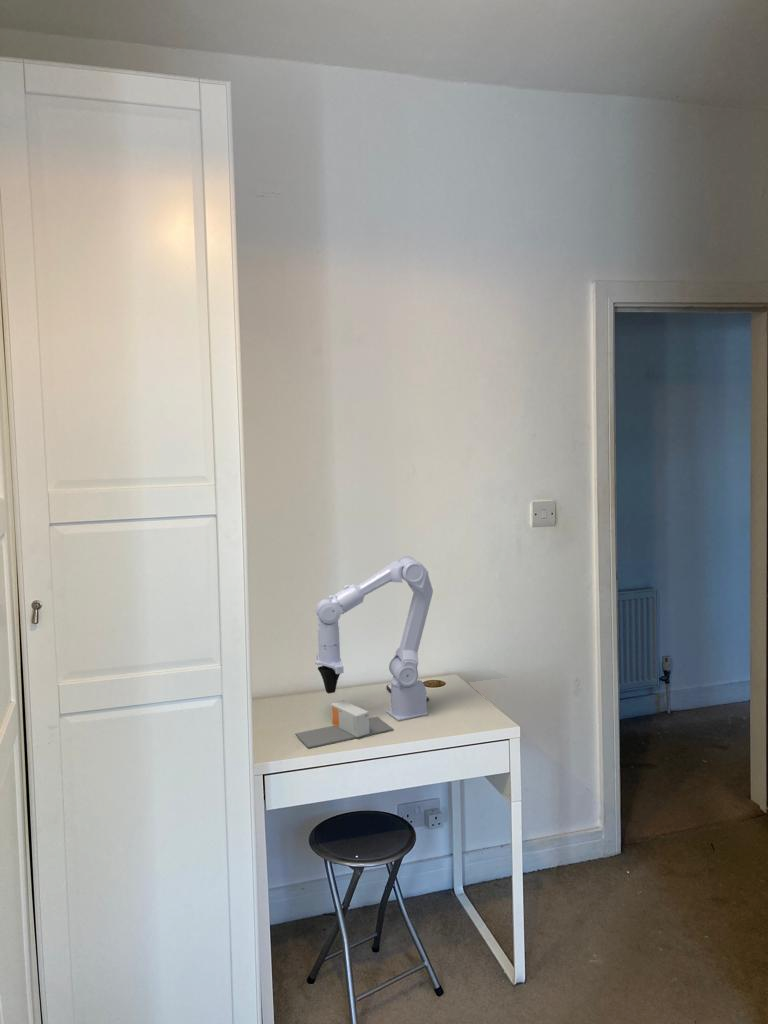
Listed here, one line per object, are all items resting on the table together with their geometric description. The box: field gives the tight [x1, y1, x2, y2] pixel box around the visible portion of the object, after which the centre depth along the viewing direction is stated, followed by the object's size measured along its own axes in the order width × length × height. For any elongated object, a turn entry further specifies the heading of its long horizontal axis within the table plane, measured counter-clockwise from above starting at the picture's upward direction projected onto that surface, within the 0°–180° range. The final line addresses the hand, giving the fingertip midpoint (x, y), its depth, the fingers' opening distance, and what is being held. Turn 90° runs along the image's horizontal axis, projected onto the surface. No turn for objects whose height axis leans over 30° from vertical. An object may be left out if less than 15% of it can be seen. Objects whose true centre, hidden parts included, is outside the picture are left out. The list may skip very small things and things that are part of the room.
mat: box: [294, 716, 394, 750], centre depth 206 cm, size 24×10×1 cm, turn 116°
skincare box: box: [330, 699, 370, 737], centre depth 207 cm, size 6×4×12 cm
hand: (330, 692), depth 213 cm, fingers closed
